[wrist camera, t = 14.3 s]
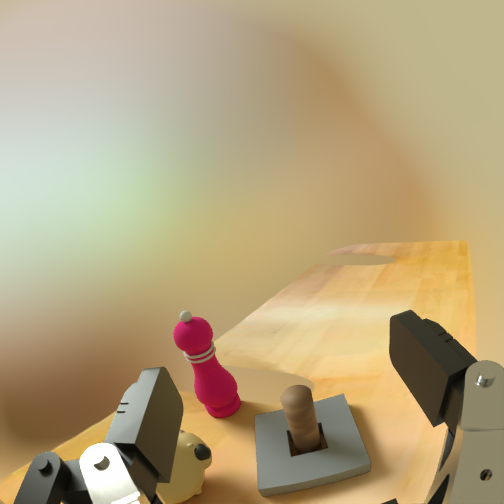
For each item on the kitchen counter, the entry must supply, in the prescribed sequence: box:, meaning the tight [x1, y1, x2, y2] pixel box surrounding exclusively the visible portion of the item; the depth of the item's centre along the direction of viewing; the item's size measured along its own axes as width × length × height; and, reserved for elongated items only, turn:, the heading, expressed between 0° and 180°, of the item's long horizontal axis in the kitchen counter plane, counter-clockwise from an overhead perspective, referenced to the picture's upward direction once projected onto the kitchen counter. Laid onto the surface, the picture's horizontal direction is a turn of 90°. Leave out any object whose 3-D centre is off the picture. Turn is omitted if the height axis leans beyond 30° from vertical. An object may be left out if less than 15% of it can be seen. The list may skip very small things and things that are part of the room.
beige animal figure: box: [156, 430, 212, 504], centre depth 29 cm, size 10×12×11 cm
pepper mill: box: [174, 311, 241, 418], centre depth 44 cm, size 7×7×20 cm
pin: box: [281, 385, 322, 455], centre depth 32 cm, size 4×4×12 cm
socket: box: [254, 394, 371, 496], centre depth 33 cm, size 14×14×2 cm
